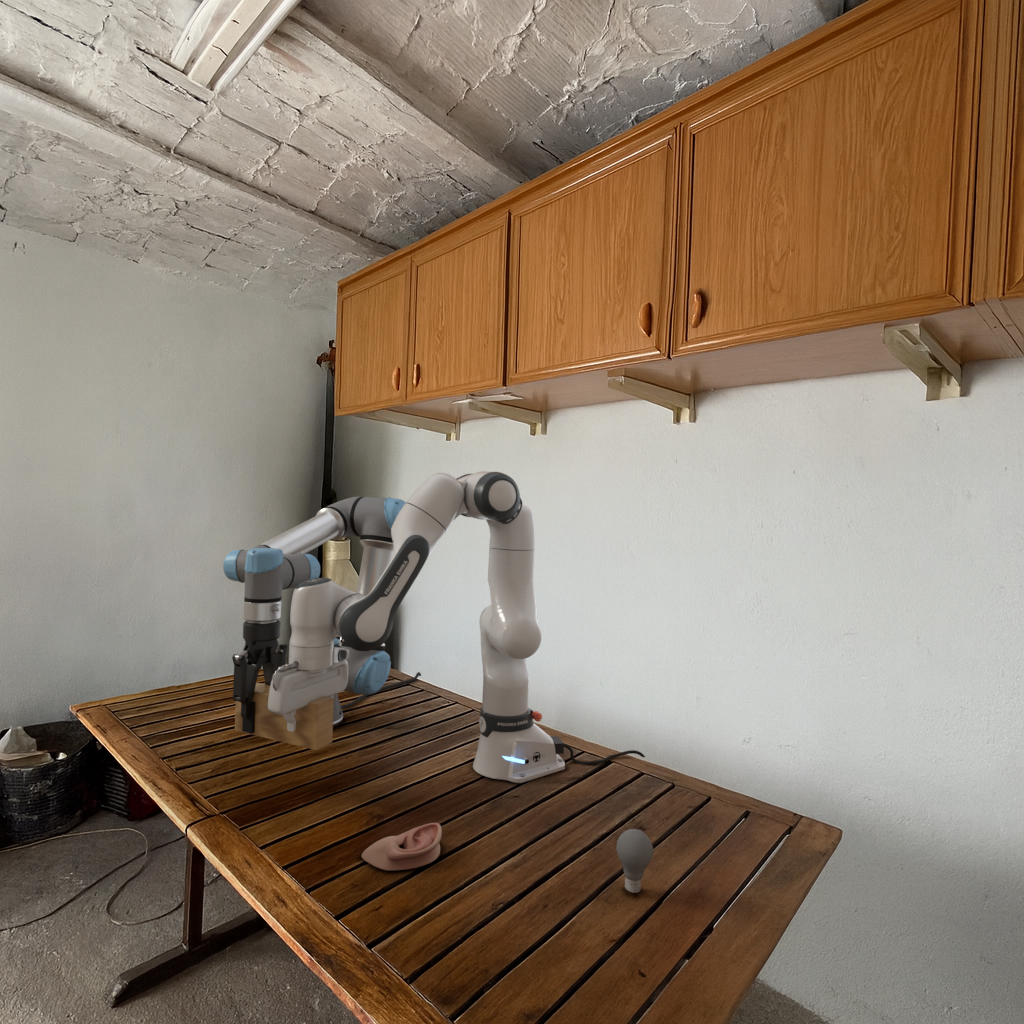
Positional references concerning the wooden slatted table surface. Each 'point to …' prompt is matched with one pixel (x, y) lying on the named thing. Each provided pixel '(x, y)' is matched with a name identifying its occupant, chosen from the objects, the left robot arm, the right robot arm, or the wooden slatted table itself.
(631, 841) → the light bulb
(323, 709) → the bar
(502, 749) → the right robot arm
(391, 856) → the anatomical model
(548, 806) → the wooden slatted table surface
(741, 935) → the wooden slatted table surface
